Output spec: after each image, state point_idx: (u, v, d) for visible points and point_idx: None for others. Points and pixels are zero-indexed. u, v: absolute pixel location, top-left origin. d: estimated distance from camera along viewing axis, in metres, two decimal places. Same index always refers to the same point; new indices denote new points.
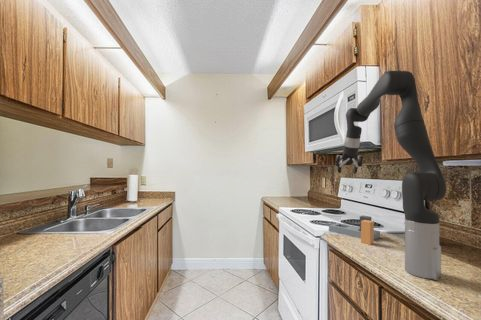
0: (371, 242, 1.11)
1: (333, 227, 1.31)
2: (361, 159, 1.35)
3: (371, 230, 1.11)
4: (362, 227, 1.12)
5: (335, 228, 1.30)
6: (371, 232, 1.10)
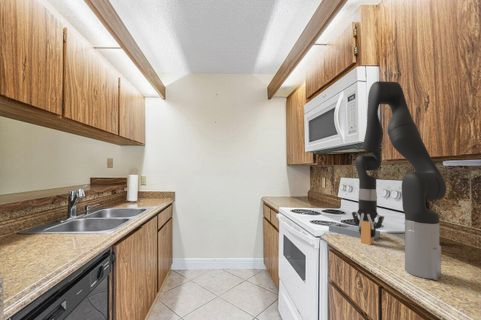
0: (371, 242, 1.11)
1: (333, 227, 1.31)
2: (379, 220, 1.08)
3: None
4: (362, 227, 1.12)
5: (335, 228, 1.30)
6: (370, 232, 1.10)
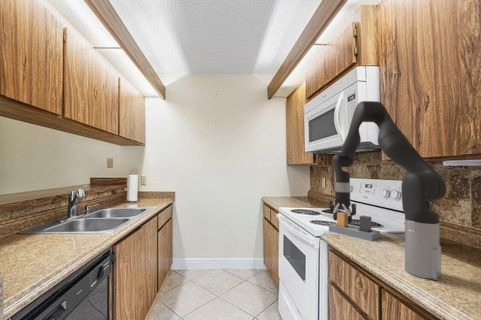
0: None
1: (333, 227, 1.31)
2: (352, 207, 1.27)
3: (345, 220, 1.30)
4: (338, 218, 1.32)
5: (335, 228, 1.30)
6: (345, 221, 1.30)
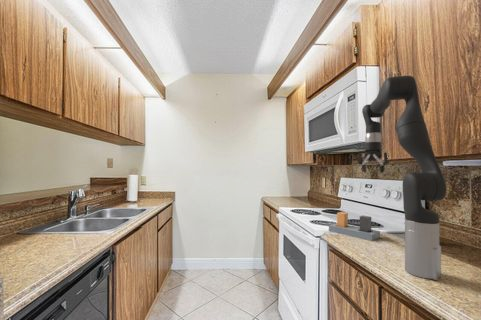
0: None
1: (333, 227, 1.31)
2: (385, 155, 1.24)
3: (345, 220, 1.30)
4: (338, 218, 1.32)
5: (335, 228, 1.30)
6: (345, 221, 1.30)
